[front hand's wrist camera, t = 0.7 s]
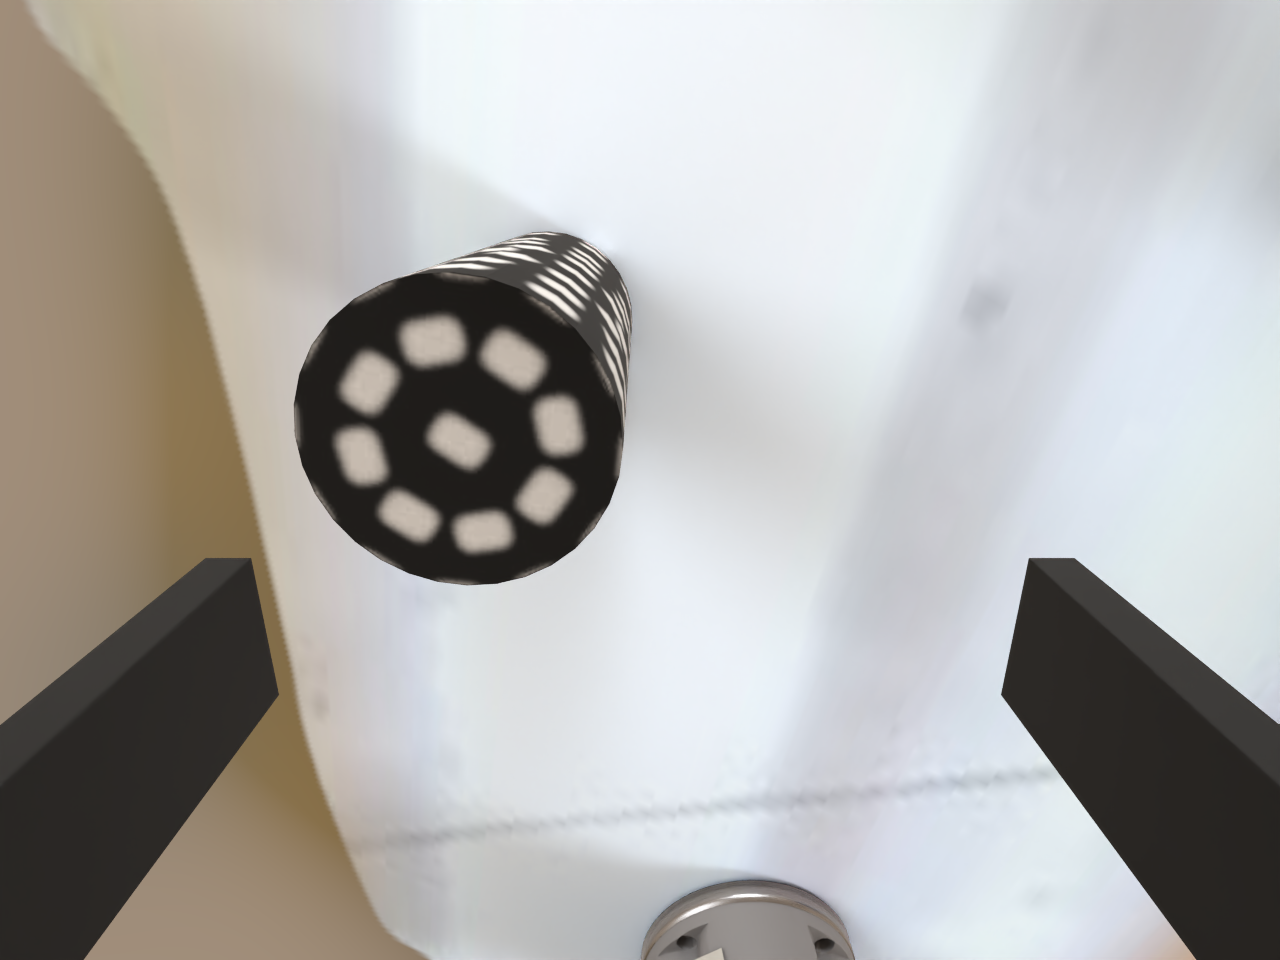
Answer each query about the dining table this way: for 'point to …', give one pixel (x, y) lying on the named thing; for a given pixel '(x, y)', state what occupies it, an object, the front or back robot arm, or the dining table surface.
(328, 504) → the black white spotted cylinder
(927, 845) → the dining table surface
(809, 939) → the front robot arm
